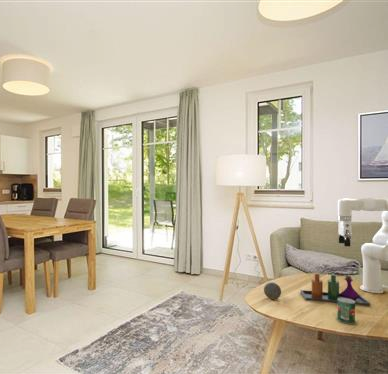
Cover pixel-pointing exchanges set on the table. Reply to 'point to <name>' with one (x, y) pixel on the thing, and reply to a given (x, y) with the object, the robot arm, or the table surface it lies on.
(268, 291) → the decorative ball
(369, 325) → the table surface
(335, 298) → the green bottle
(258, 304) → the table surface
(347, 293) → the perfume bottle
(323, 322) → the table surface
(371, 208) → the robot arm
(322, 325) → the table surface
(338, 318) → the canned tomato
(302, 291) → the tray
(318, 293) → the amber bottle
